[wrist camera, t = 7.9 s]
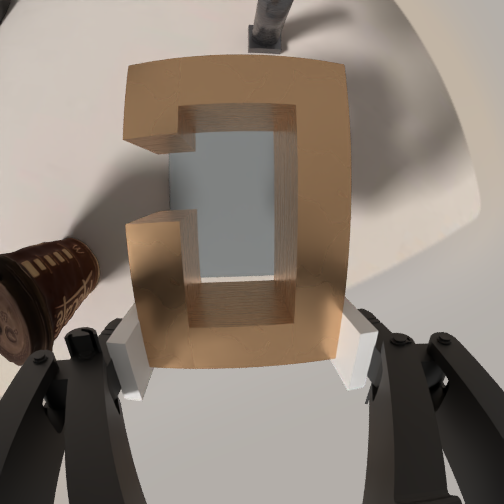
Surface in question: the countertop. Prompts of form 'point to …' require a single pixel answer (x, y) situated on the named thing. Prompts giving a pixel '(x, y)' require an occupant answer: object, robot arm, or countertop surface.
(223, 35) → the countertop surface
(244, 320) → the c link
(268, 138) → the mat
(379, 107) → the countertop surface
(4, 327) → the coffee cup
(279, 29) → the post stand
